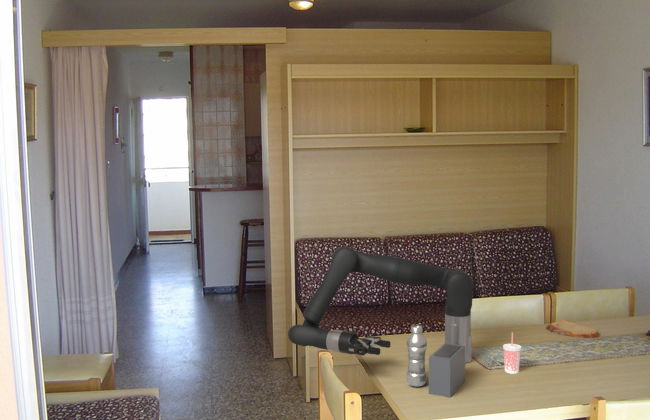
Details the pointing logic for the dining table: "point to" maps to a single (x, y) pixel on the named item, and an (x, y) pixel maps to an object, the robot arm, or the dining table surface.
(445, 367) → the box
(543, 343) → the dining table surface
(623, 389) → the dining table surface
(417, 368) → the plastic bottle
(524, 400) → the dining table surface
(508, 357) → the beverage cup
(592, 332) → the slice of bread
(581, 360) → the dining table surface
